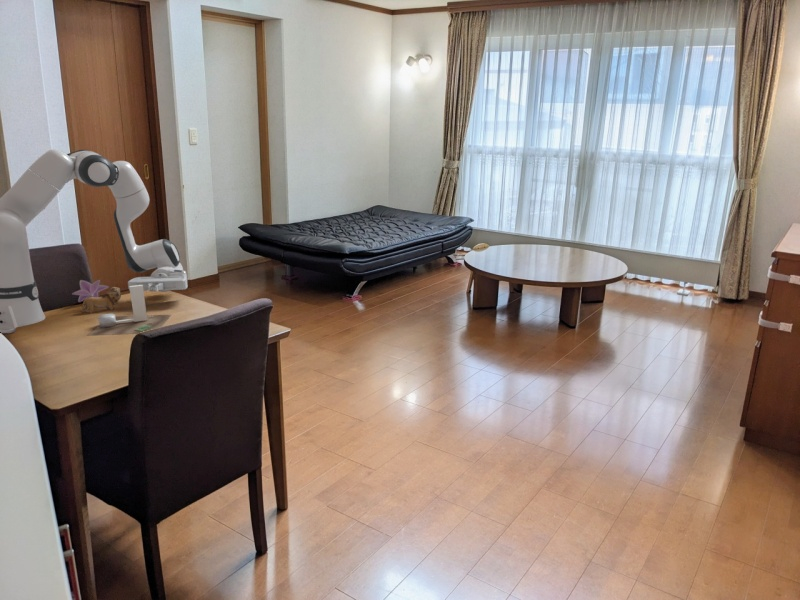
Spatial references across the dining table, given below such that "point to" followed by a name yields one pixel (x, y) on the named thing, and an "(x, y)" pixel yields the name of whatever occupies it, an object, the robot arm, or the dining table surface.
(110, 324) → the tuning peg
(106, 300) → the lion figurine
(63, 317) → the dining table surface
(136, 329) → the dial board
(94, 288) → the lily
